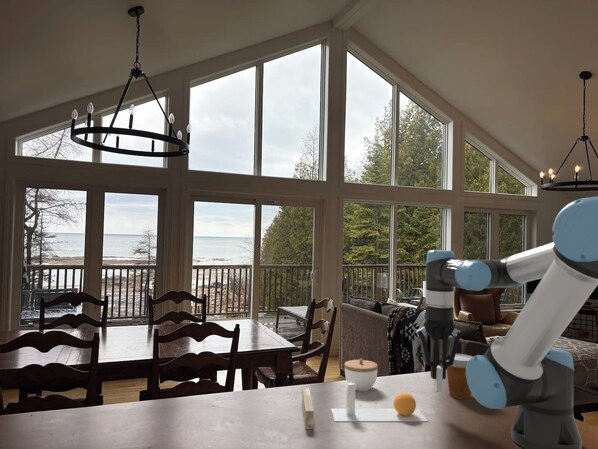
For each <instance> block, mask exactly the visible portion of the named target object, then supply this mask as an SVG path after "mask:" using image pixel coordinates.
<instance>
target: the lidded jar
mask: <svg viewBox="0 0 598 449" xmlns="http://www.w3.org/2000/svg"><path fill="white" fill-rule="evenodd" d="M378 368H379V367H378V364H377V362H374V361H372V360H366V359H363V358H359V359H352V360H351V359H350V360H347V361H345V362H344V375H345V381H346V383H355V391H357V392H358V391H360V392H366V391H369V390H371V388H372V387H373V386H374V385H375V383H376V381H377V377H378Z"/></svg>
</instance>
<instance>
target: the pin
mask: <svg viewBox="0 0 598 449" xmlns="http://www.w3.org/2000/svg"><path fill="white" fill-rule="evenodd" d="M345 408H346V415H348V416H354V415H355V408H356V390H355V383H348V382H346V407H345Z"/></svg>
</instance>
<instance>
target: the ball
mask: <svg viewBox="0 0 598 449" xmlns="http://www.w3.org/2000/svg"><path fill="white" fill-rule="evenodd" d="M393 406H394V408H395V410H396V411H397V412H398V413H399V414H400V415H403V416H409V415H411V414H412V413H413V412H414V411H415V409H417V402H416V399H415V398H414V397H413V395H411V394H410V393H408V392H401V393H399V394H397V395H396V396H395V398H394V400H393Z"/></svg>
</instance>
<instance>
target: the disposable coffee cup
mask: <svg viewBox="0 0 598 449" xmlns="http://www.w3.org/2000/svg"><path fill="white" fill-rule="evenodd" d="M472 357H473V356H472V355H468V354H465V353H464V354H463V353H456V354H455V358H454V362H453V365H452V366H447V369H446V377H447V383H448V390H449V391H448V392H449V393H448V394H449V396H450V397H451V398H454V399H458V400H468V399H469V400H470V399H471V397H472V393H471V391H470V389H469V386H468V383H467V378H466V366H467V363H468V361H469V360H470V359H471V358H472Z"/></svg>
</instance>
